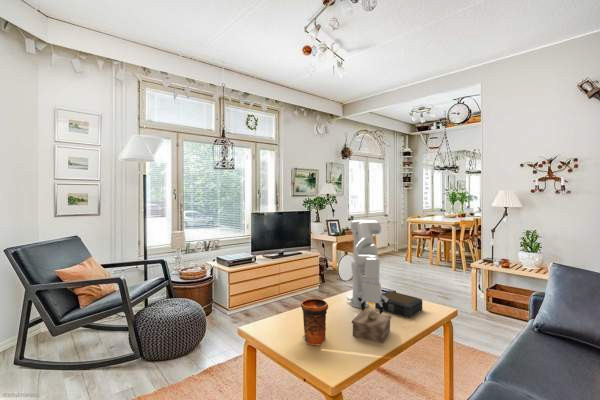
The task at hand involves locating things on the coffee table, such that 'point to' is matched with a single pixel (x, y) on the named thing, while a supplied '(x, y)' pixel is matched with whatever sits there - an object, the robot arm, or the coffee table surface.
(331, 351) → the coffee table surface
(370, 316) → the lid
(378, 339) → the storage box
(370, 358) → the coffee table surface
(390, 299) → the cash box
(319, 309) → the vessel
